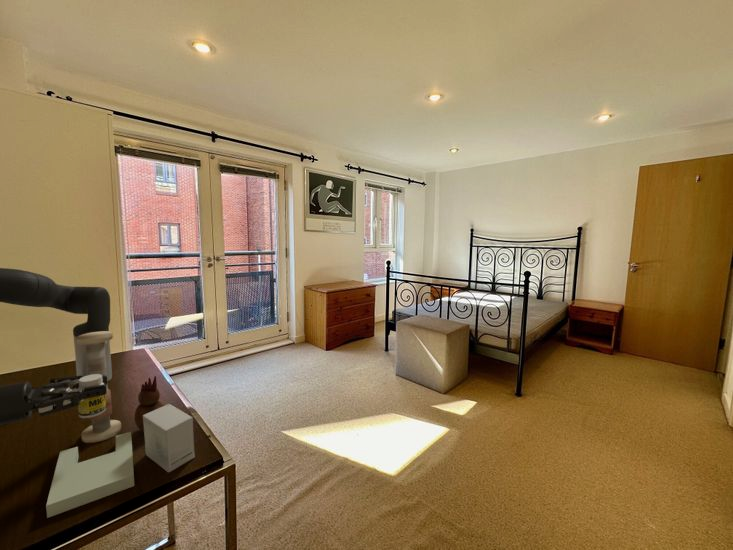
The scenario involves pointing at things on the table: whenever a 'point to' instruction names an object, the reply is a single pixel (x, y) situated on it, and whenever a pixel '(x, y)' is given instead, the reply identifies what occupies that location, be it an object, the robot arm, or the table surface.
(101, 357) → the bobbin post
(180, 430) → the skincare box
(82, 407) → the supplement bottle
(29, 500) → the table surface
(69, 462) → the notched board
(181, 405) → the table surface
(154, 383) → the wooden figurine
